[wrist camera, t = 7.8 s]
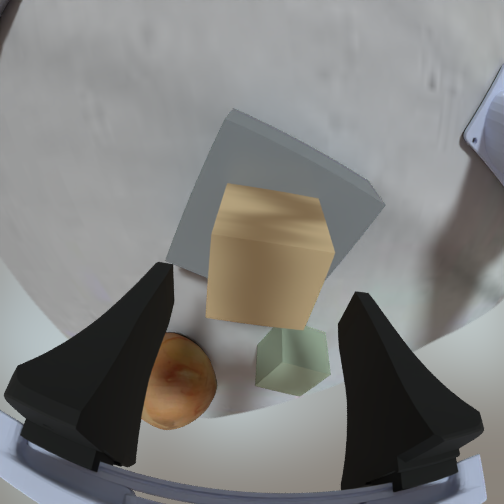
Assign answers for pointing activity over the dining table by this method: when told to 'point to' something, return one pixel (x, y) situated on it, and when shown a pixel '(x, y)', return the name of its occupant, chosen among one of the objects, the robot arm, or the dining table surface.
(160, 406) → the onion
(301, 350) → the sage cube
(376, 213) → the slate block
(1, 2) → the stone block
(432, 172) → the dining table surface
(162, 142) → the dining table surface
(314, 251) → the oak cube
